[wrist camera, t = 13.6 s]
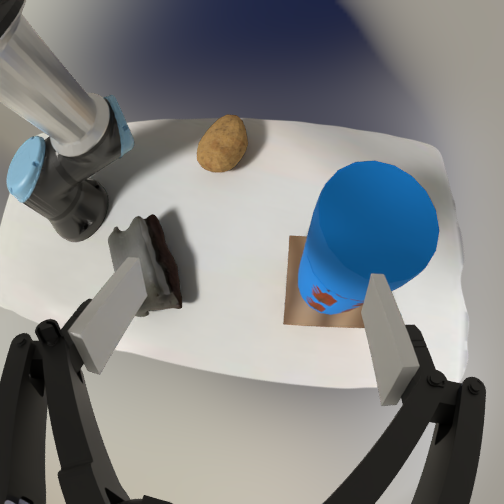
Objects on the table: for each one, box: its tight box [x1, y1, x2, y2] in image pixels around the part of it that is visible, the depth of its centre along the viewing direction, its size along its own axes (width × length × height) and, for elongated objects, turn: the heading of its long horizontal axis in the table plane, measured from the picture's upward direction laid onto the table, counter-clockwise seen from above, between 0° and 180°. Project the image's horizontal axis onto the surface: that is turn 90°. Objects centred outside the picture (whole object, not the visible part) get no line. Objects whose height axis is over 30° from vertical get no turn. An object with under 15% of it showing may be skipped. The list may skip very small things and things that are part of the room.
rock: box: [108, 214, 182, 317], centre depth 52 cm, size 18×11×8 cm, turn 24°
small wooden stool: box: [283, 236, 365, 328], centre depth 49 cm, size 14×14×7 cm
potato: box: [197, 115, 248, 172], centre depth 58 cm, size 10×14×8 cm
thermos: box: [298, 161, 439, 315], centre depth 34 cm, size 11×11×25 cm
